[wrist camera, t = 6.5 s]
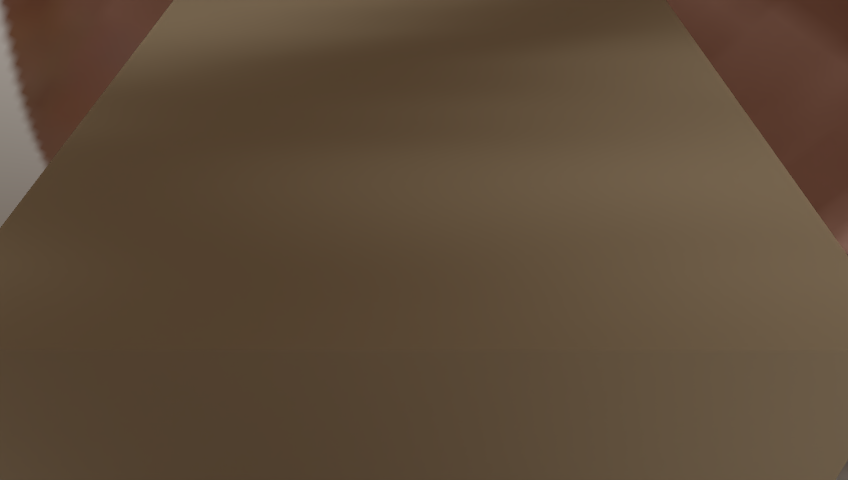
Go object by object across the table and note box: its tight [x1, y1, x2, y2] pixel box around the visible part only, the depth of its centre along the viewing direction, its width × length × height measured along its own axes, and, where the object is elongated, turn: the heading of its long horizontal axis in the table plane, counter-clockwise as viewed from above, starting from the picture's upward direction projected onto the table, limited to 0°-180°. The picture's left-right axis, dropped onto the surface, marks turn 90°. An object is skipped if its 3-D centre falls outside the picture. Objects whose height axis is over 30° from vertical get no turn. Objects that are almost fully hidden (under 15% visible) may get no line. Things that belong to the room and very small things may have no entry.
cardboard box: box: [0, 0, 848, 480], centre depth 9 cm, size 4×11×7 cm, turn 0°
